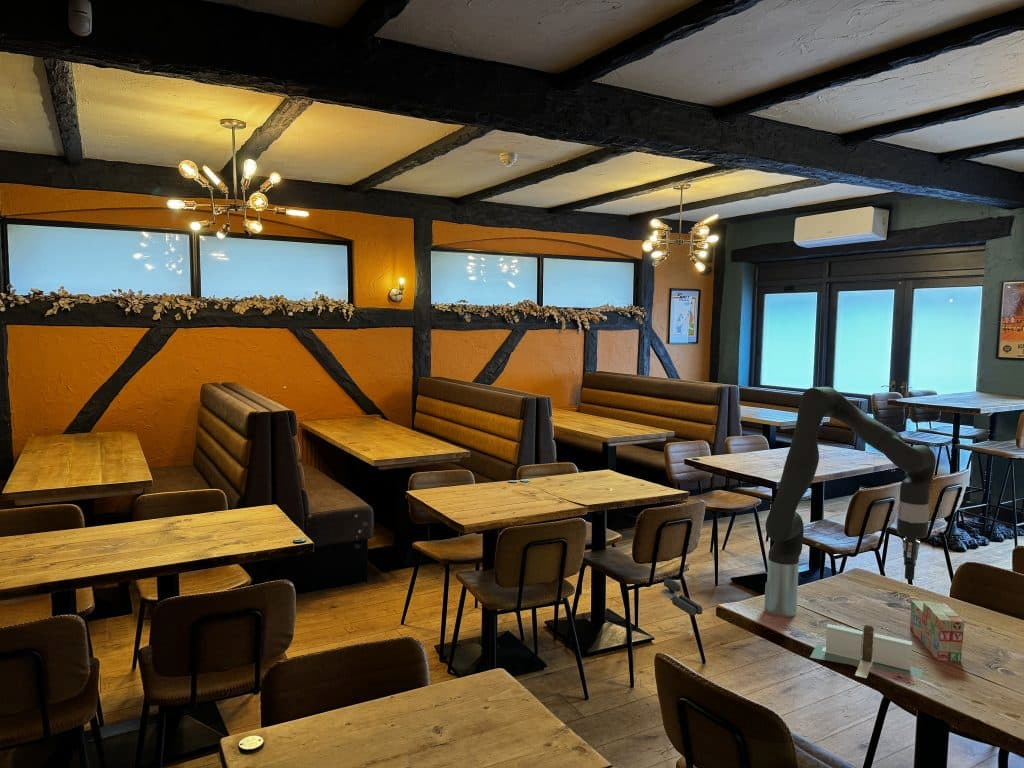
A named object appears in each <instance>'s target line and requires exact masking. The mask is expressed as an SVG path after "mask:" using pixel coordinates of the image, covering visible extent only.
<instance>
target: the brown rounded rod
mask: <svg viewBox="0 0 1024 768" xmlns="http://www.w3.org/2000/svg"><path fill="white" fill-rule="evenodd" d="M862 631H863V639H862V660H864V661H867V662H871V661H872V658H873V644H874V639H873V636H874V631H875V629H874V627H873V626H872V625H871V624H865V625H864V626H863V630H862Z"/></svg>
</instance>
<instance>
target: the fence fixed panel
mask: <svg viewBox="0 0 1024 768" xmlns="http://www.w3.org/2000/svg"><path fill="white" fill-rule="evenodd" d="M825 628H826V638H825V639H826V640H825V642H826V643H825V646H826V651H827V652H831V653H835V654H839V655H843V656H848V657H852V658H856V659H860V660H861V657H862V652H863V634H864V630H858V629H853V628H849V627H845V626H844V627H843V626H840V625H834V624H831V623H827V625H826V627H825Z"/></svg>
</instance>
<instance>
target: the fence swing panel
mask: <svg viewBox="0 0 1024 768" xmlns="http://www.w3.org/2000/svg"><path fill="white" fill-rule="evenodd" d="M912 649H913V641H910V640H905V639H901V638H897V637H892V636H888V635H882V634H878V633H873V648H872V658H873V661H872V662H876V663H881V664H885V665H889V666H893V667H897V668H901V669H905V670H909V671H910V667H911V666H912V665H911V661H912Z"/></svg>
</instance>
